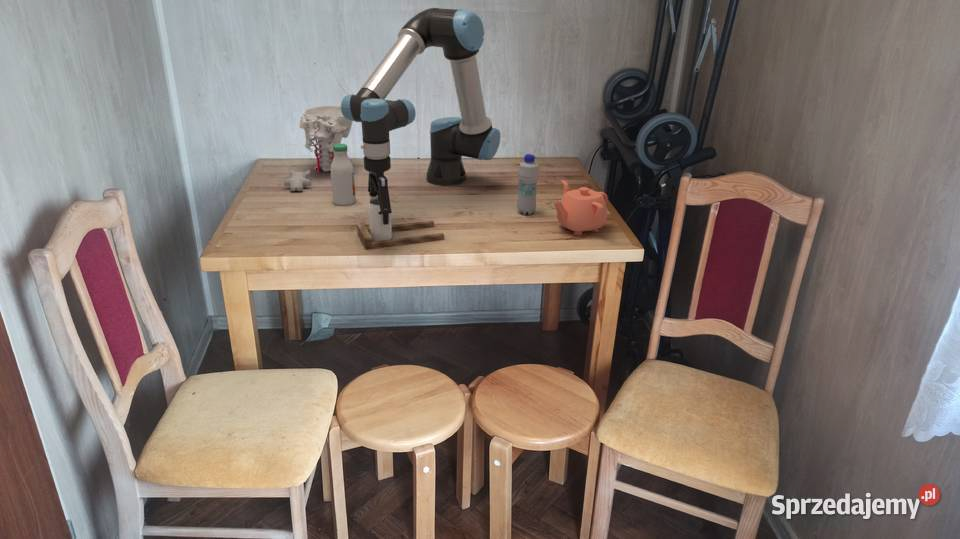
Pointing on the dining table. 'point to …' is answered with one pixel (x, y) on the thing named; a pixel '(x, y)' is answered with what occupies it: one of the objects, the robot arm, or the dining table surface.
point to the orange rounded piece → (581, 209)
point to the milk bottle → (342, 177)
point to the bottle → (527, 185)
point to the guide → (368, 244)
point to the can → (377, 222)
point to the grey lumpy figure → (298, 180)
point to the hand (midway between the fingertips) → (380, 225)
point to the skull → (324, 132)
